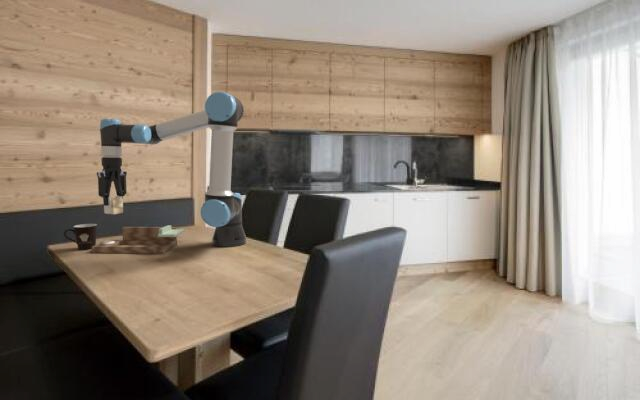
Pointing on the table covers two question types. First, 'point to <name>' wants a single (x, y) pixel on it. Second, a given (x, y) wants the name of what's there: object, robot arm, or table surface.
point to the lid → (169, 231)
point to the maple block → (116, 206)
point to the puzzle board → (138, 242)
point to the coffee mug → (84, 236)
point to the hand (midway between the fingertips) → (113, 212)
